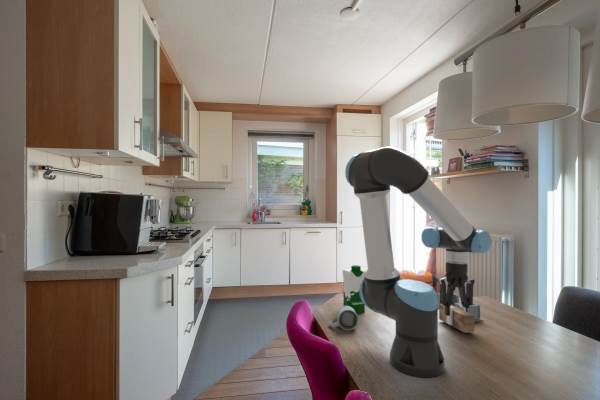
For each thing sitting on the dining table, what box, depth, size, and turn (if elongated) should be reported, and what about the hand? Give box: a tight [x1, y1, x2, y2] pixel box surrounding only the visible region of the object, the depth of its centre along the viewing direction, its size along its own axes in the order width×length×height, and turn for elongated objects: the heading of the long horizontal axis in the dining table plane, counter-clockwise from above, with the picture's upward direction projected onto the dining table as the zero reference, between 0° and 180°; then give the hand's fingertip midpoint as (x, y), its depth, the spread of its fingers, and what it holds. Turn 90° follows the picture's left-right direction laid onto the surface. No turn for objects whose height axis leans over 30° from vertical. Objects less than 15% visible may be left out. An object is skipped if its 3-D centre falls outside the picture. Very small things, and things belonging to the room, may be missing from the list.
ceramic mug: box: [329, 306, 359, 331], centre depth 122 cm, size 11×8×8 cm
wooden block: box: [438, 304, 475, 334], centre depth 120 cm, size 14×4×6 cm, turn 13°
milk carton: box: [342, 264, 366, 314], centre depth 140 cm, size 9×9×20 cm
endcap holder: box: [436, 292, 484, 322], centre depth 137 cm, size 20×10×6 cm, turn 5°
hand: (456, 323), depth 120 cm, fingers closed on wooden block, 4 cm apart
